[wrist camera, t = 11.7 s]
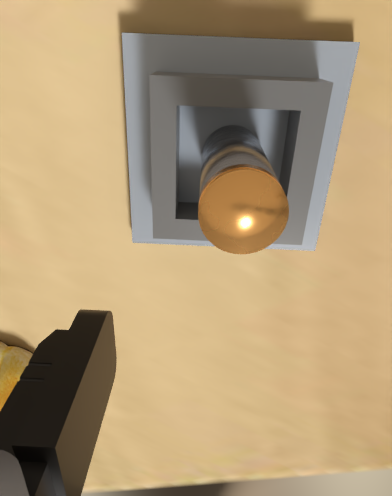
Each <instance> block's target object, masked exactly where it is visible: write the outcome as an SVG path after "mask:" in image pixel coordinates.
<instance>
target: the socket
mask: <svg viewBox="0 0 392 496" xmlns="http://www.w3.org/2000/svg"><path fill="white" fill-rule="evenodd" d="M359 44H360V42H341V41H316V40H291V39H266V38H242V37H217V36H192V35H168V34H143V33H122V48H123V67H124V86H125V106H126V125H127V145H128V164H129V183H130V203H131V222H132V241H133V243H153V244H175V245H197V246H214V245H213V244H212V243H211V242H210V241H209V240H208V239H207V238H206V237H205V235H204V234H203V232H202V230H201V228H200V224H199V220H198V207H199V192H200V178H201V163H202V150H203V146H204V144H205V142H206V140H207V138H208V137H209V136H210V135H211V134H212V133H213V132H214V131H215V130H217V129H219V128H221V127H224V126H228V125H238V126H242V127H244V128H247V129H248V130H250V131H251V132H252V133H253V134H254V135H255V136H256V138H257V139H258V141H259V143H260V145H261V147H262V149H263V151H264V153H265V155H266V157H267V159H268V161H269V163H270V165H271V167H272V169H273V171H274V173H275V175H276V177H277V179H278V181H279V183H280V185H281V187H282V189H283V191H284V193H285V195H286V197H287V200H288V204H289V217H288V221H287V224H286V227H285V229H284V231H283V232H282V234H281V235H280V236H279V238H278V239H277V240H276V241H275V242H273V243H272V244H271V245H269V246H268V247H266V248H264V249H285V250H307V251H315V248H316V244H317V239H318V234H319V230H320V225H321V221H322V216H323V211H324V207H325V202H326V197H327V193H328V188H329V183H330V179H331V174H332V170H333V165H334V160H335V156H336V151H337V146H338V142H339V137H340V132H341V128H342V123H343V118H344V114H345V109H346V105H347V100H348V95H349V91H350V86H351V81H352V77H353V72H354V67H355V63H356V58H357V53H358V49H359Z"/></svg>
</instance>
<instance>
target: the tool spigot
mask: <svg viewBox="0 0 392 496" xmlns="http://www.w3.org/2000/svg"><path fill="white" fill-rule="evenodd" d="M288 217H289V204H288V200H287V197H286V195H285V193H284V191H283V189H282V187H281V185H280V183H279V181H278V179H277V177H276V175H275V173H274V171H273V169H272V167H271V165H270V163H269V161H268V159H267V157H266V155H265V153H264V151H263V149H262V147H261V145H260V143H259V141H258V139H257V138H256V136H255V135H254V134H253V133H252V132H251V131H250V130H248V129H247V128H244V127H242V126H238V125H228V126H224V127H221V128H219V129H217V130H215V131H214V132H213V133H212V134H211V135H210V136H209V137H208V138H207V140H206V142H205V144H204V146H203V150H202V163H201V178H200V192H199V207H198V220H199V224H200V228H201V230H202V232H203V234H204V235H205V237H206V238H207V239H208V240H209V241H210V242H211V243H212V244H213V245H214V246H216V247H217V248H219V249H221V250H223V251H226V252H229V253H233V254H249V253H254V252H257V251H260V250H262V249H264V248H266V247H268V246H269V245H271V244H272V243H273V242H275V241H276V240H277V239H278V238H279V236H280V235H281V234H282V232H283V231H284V229H285V227H286V224H287V221H288Z"/></svg>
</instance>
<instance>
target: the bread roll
mask: <svg viewBox="0 0 392 496" xmlns="http://www.w3.org/2000/svg"><path fill="white" fill-rule="evenodd" d="M32 355H33V354H32V353H31V352H29V351H27V350H25V349H22V348H20V347H16V346H7V345H6V344H5V343H3V342H0V411H1V409H2V407H3V406H4V404H5V402H6V400H7V399H8V397H9V395H10V393H11V392H12V390H13V388H14V386H15V385H16V383H17V381H19V380H20V376H21V374H22V373H23V371H24V369H25V367H26V366H28V364H29V360H30V359H31V357H32Z"/></svg>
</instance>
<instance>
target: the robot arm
mask: <svg viewBox="0 0 392 496" xmlns="http://www.w3.org/2000/svg"><path fill="white" fill-rule="evenodd" d="M115 372H116V347H115V336H114V325H113V316H112V312H111V311H100V310H79V312H78V313H77V315H76V317H75V319H74V321H73V323H72V325H71V327H70V329H69V330H55V331H54V332H53V333H51V334H50V335H49V336H48V337H47V338H46V339H44V340H43V341H42V342H41V343H40V344H39V345H38V347H37V348H36V350H35V352H34V353H33V355H32V357H31V359H30V360H29V364H28V366H26V367H25V369H24V371H23V373H22V374H21V376H20V380H19V381H17V383H16V385H15V386H14V388H13V390H12V392H11V393H10V395H9V397H8V399H7V400H6V402H5V404H4V406H3V407H2V409H1V411H0V496H81V493H82V489H83V486H84V482H85V479H86V476H87V472H88V469H89V465H90V462H91V458H92V455H93V451H94V448H95V444H96V441H97V438H98V434H99V431H100V427H101V424H102V420H103V417H104V413H105V410H106V406H107V403H108V400H109V396H110V393H111V389H112V386H113V382H114V378H115Z"/></svg>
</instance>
